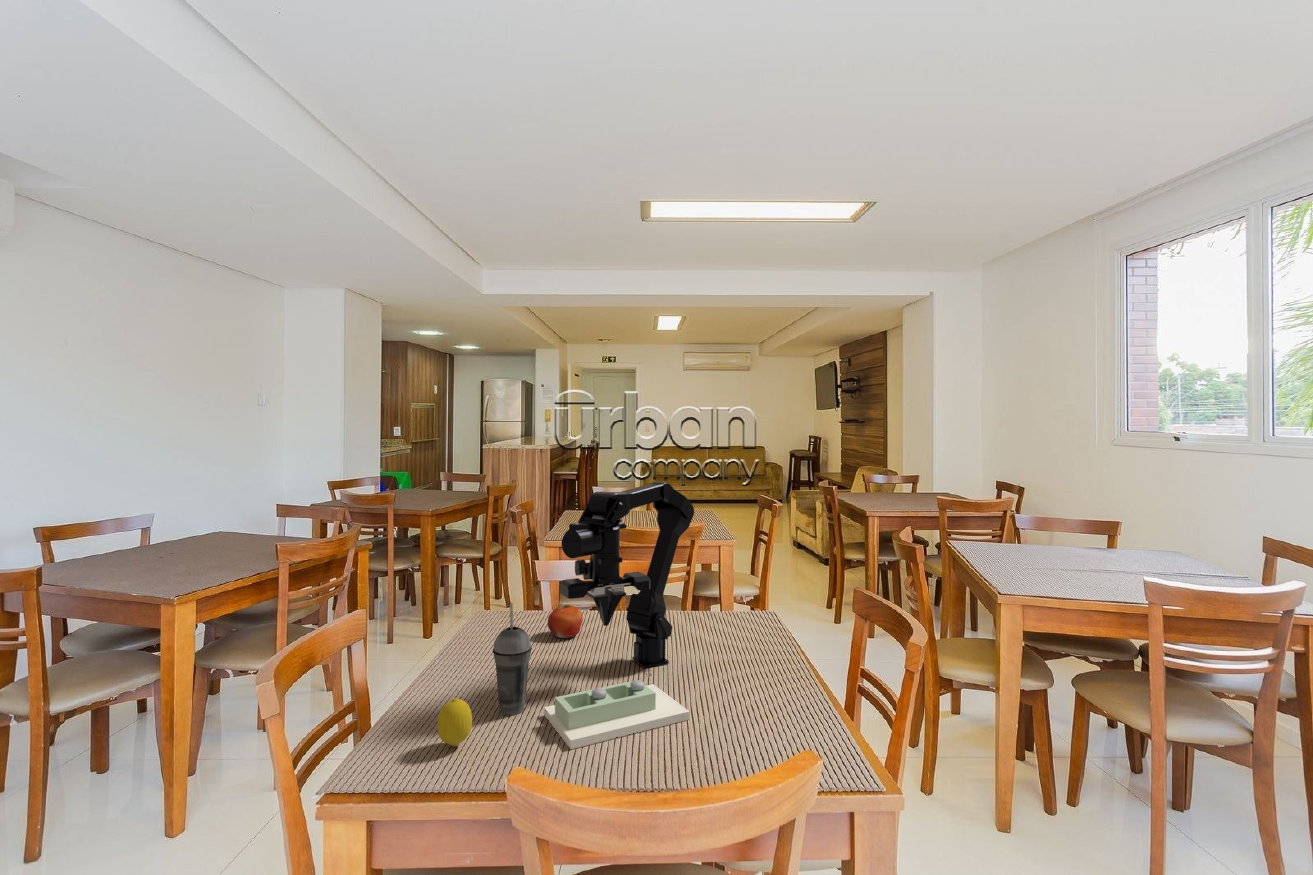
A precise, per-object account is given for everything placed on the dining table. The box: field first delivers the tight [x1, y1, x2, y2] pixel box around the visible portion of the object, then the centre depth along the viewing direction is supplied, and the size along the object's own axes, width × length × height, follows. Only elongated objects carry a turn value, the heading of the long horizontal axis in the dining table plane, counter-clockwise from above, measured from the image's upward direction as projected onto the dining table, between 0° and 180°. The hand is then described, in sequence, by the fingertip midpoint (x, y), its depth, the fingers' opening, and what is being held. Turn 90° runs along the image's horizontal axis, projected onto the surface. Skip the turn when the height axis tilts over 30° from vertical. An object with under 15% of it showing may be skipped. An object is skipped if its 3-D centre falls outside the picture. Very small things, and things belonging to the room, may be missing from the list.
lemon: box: [436, 697, 473, 748], centre depth 100 cm, size 6×6×8 cm
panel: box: [554, 679, 656, 730], centre depth 110 cm, size 17×7×3 cm, turn 119°
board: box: [543, 680, 690, 750], centre depth 111 cm, size 23×14×6 cm, turn 119°
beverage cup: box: [492, 602, 533, 716], centre depth 114 cm, size 7×7×20 cm
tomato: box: [547, 604, 584, 639], centre depth 158 cm, size 9×9×8 cm
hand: (605, 625), depth 127 cm, fingers closed
